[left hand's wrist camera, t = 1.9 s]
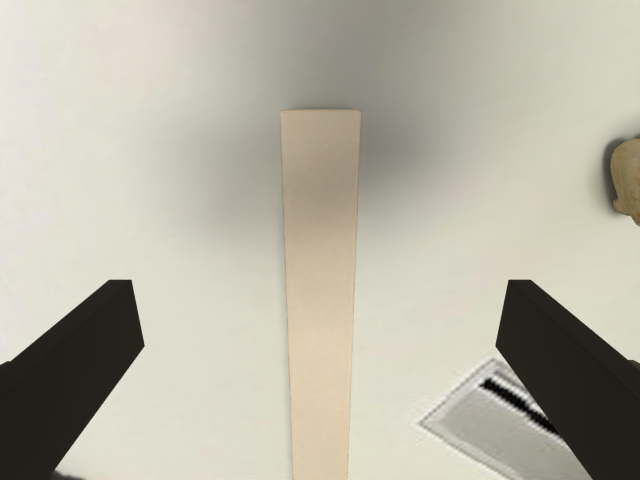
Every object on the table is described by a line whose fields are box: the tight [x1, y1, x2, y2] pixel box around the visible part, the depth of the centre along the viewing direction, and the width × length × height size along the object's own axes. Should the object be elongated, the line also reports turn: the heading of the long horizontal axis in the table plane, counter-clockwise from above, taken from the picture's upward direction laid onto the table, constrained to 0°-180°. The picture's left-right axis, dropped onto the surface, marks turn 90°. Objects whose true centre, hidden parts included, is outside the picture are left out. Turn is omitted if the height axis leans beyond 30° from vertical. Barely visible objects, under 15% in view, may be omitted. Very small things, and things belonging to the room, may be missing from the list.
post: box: [280, 109, 361, 480], centre depth 39 cm, size 72×5×8 cm, turn 0°
